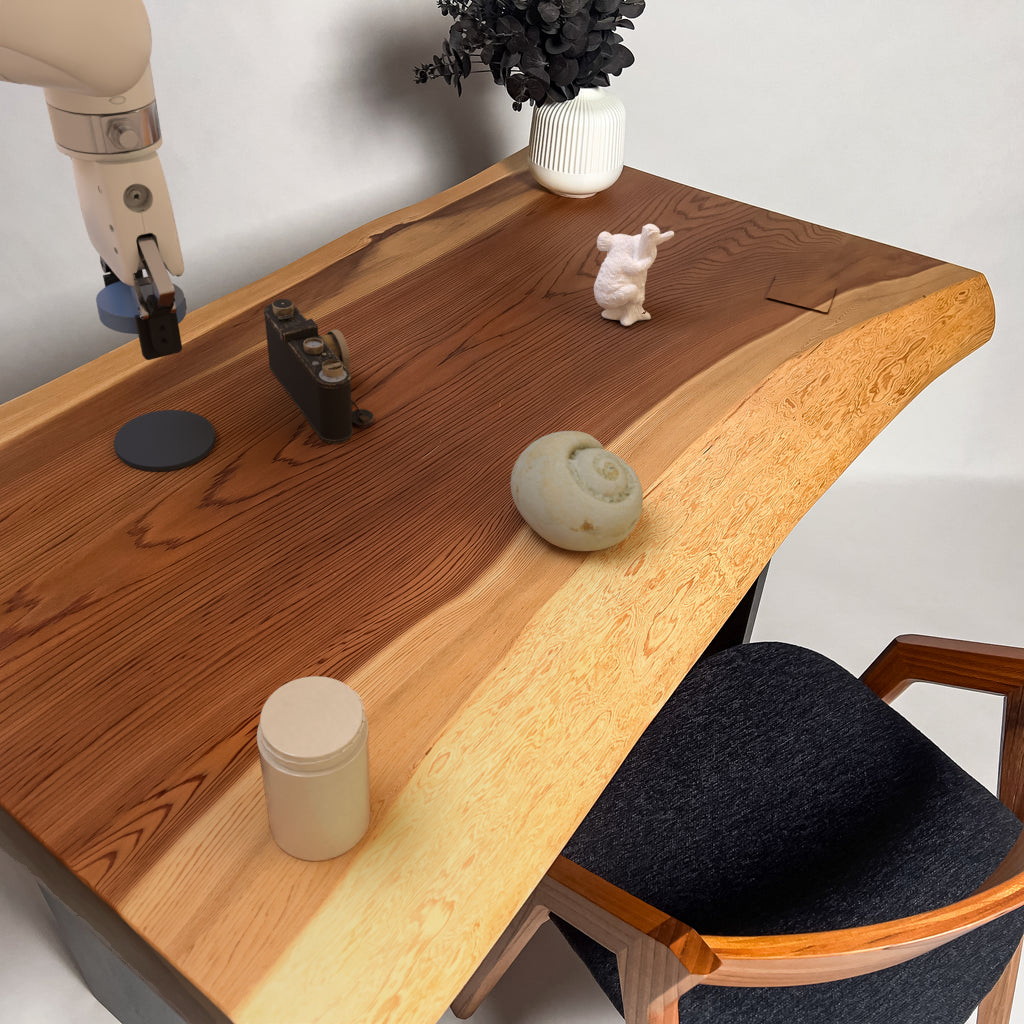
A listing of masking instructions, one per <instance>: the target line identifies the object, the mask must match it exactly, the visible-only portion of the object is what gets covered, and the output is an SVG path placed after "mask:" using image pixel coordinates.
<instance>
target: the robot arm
mask: <svg viewBox="0 0 1024 1024" xmlns="http://www.w3.org/2000/svg"><path fill="white" fill-rule="evenodd" d="M152 47H153V38H152V28H151V22H150V19H149V14H148V12H147V9H146V6H145V4H144V1H143V0H0V82H6V83H11V84H17V85H27V86H32V87H37V88H42V90H43V94H44V99H45V103H46V107H47V112H48V115H49V121H50V125H51V129H52V134H53V139H54V143H55V147H56V149H57V150H58V152H60V153H61V154H63V155H64V156H67V157H69V158H70V160H71V164H72V170H73V175H74V180H75V186H76V192H77V195H78V196H77V197H78V201H79V205H80V210H81V214H82V219H83V223H84V226H85V229H86V233H87V236H88V239H89V241H90V243H91V245H92V246H93V248H94V249H95V251H96V252H97V254H98V256H99V263H100V266H101V269H102V272H103V273H104V274H103V275H102V278H103V283H104V288H105V287H107V286H108V285H111V284H113V283H116V282H119V281H122V282H123V283H125V284H127V285H129V286H130V288H131V291H132V294H133V297H134V301H135V304H136V307H137V310H138V313H139V315H135V320H136V326H137V331H138V334H137V335H138V340H139V341H138V342H139V345H140V351H141V355H142V357H143V358H144V359H145V360H146V361H151V360H155V359H159V358H163V357H167V356H170V355H176V354H179V353H181V352H182V350H183V344H182V338H181V333H180V326H179V324H178V320H177V314H176V305H175V298H174V296H175V290H174V287H173V284H174V283H173V282H172V279H171V277H177V278H179V277H182V276H183V274H184V272H185V265H184V259H183V253H182V249H181V244H180V238H179V234H178V228H177V224H176V219H175V215H174V210H173V204H172V201H171V196H170V192H169V187H168V185H167V180H166V177H165V172H164V170H163V167H162V163H161V161H160V157H159V154H158V152H157V151H158V150H159V149H160V148H161V146H162V145H163V136H162V130H161V124H160V117H159V110H158V104H157V98H156V89H155V84H154V77H153V72H152V71H153V70H152V65H151V55H152V49H153V48H152ZM144 270H145V272H146V275H147V276H144V273H143V271H144ZM169 274H170V275H171V277H170V275H169ZM137 278H138V279H137ZM172 283H173V284H172ZM149 284H151V285H152V293H153V294H152V295H148V297H147V299H146V302H145V299H144V296H143V293H142V290H141V287H140V286H144V285H149Z"/></svg>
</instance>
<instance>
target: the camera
mask: <svg viewBox="0 0 1024 1024" xmlns="http://www.w3.org/2000/svg"><path fill="white" fill-rule="evenodd" d="M263 316H264V323H265V335H266V344H267V353H268V368H269V370H270V371H271V373H272V374H273V375H274V377H275V378H276V380H277V381H278V382H279V384H280V385H281V386H282V388H283V389H284V391H285V392H286V394H287V395H288V396H289V398H290V399H291V400H292V402H293V404H295V405H296V407H297V409H298V410H299V411H300V413H301V414H302V416H303V417H304V418H305V420H306V421H307V423H308V424H309V426H310V427H311V428H312V429H313V431H314V432H315V434H316V435H317V436H318V438H319V439H320V440H321V441H323V442H324V443H327V444H342V443H346V442H347V441H348V440H350V439H351V438H352V436H353V435H354V434H353V433H354V430H353V427H354V428H357V429H366V428H369V427H370V426H372V424H374V420H375V414H374V413H373V412H372V411H370V410H368V409H364V408H359V406H358V405H357V404H356V403H355V401H353V399H352V374H351V372H350V367H351V357H350V350H349V346H348V344H347V340H346V337H345V336H344V334H343V333H342V332H341V331H340V330H339V329H337V328H336V329H331V330H329V331H327V333H326V334H324V335H320V334H319V327H318V324H317V323H316V321H315V320H314V319H313V318H308V319H307V318H306V317H305V316H304V314H303V313H302V312H301V311H300V310H299V308H298V307H297V306H296V305H295V304H294V302H293V301H292V300H291V299H287V298H278V299H276V300H274V301H273V302H272V303H270V304H268V305H265V307H264V309H263ZM352 404H353V405H354V407H355V408H356V409H354V410H353V408H352V407H353V406H352Z"/></svg>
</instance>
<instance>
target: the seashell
mask: <svg viewBox="0 0 1024 1024" xmlns="http://www.w3.org/2000/svg"><path fill="white" fill-rule="evenodd" d="M510 490H511V496H512V497H511V498H512V500H513V502H514V505H515V507H516V509H517V510H518V512H519V514H520V515H521V517H522V518H523V519H524V521H525V522H526V523H527V524H528V525H529V527H530V528H531V529H532V530H533V531H534V532H535V533H536V534H537V535H539V536H540V537H541V538H542V539H544V540H546V541H547V542H548V543H550V544H552V545H553V546H557V547H558V548H561V549H565V550H568V551H576V552H593V551H595V552H596V551H601V550H605V549H608V548H610V547H614V546H615V545H617V544H618V543H620V542H621V541H623V540H625V539H626V538H627V537H628V536H629V535H630V534H631V533H632V531H634V529H635V528H636V526H637V524H638V522H639V520H640V518H641V515H642V511H643V506H644V495H643V494H644V493H643V487H642V483H641V481H640V479H639V476H638V474H637V473H636V470H635V469H634V468H633V467H632V466H631V465H630V464H628V463H627V462H626V461H625V460H624V459H623V458H621V457H620V456H619V455H617V454H616V453H614V452H613V451H610V450H608V449H605V447H604V446H603V445H602V443H601V442H600V441H599V440H597V439H596V438H595V437H593V435H591V434H589V433H587V432H583V431H578V430H562V431H556V432H552V433H549V434H545V435H544V436H541V437H539V438H538V439H536V440H535V441H534V440H533V442H532V443H530V444H529V445H528V446H527V447H526V448H525V449H524V450H523V451H522V452H521V454H519V456H518V458H517V459H516V461H515V463H514V465H513V468H512V471H511V475H510Z"/></svg>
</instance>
